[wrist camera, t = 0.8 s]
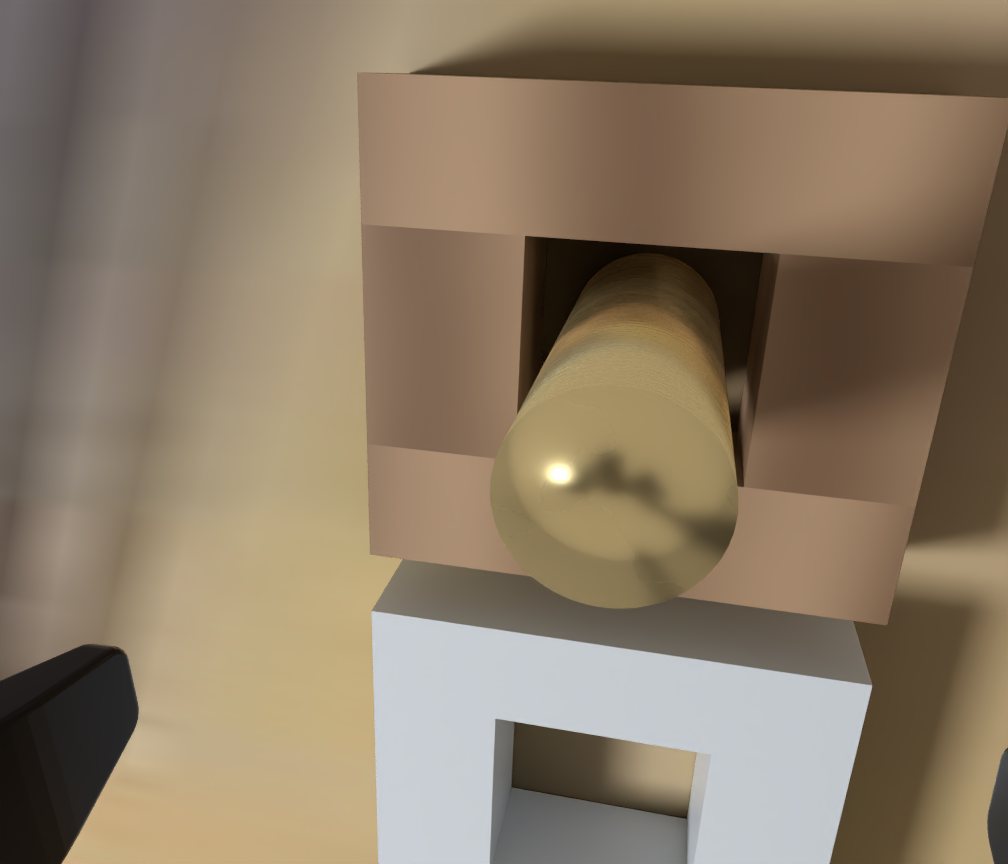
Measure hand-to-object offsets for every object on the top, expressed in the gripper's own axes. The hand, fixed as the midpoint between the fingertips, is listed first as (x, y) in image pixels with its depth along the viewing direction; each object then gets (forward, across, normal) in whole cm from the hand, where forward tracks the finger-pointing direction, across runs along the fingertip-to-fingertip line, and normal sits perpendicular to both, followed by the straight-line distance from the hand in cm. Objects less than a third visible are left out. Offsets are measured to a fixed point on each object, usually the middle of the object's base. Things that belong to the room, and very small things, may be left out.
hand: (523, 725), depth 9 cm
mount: (+12, -1, -1) cm, 12 cm away
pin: (+12, -1, -1) cm, 12 cm away
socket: (+12, 0, +10) cm, 16 cm away
